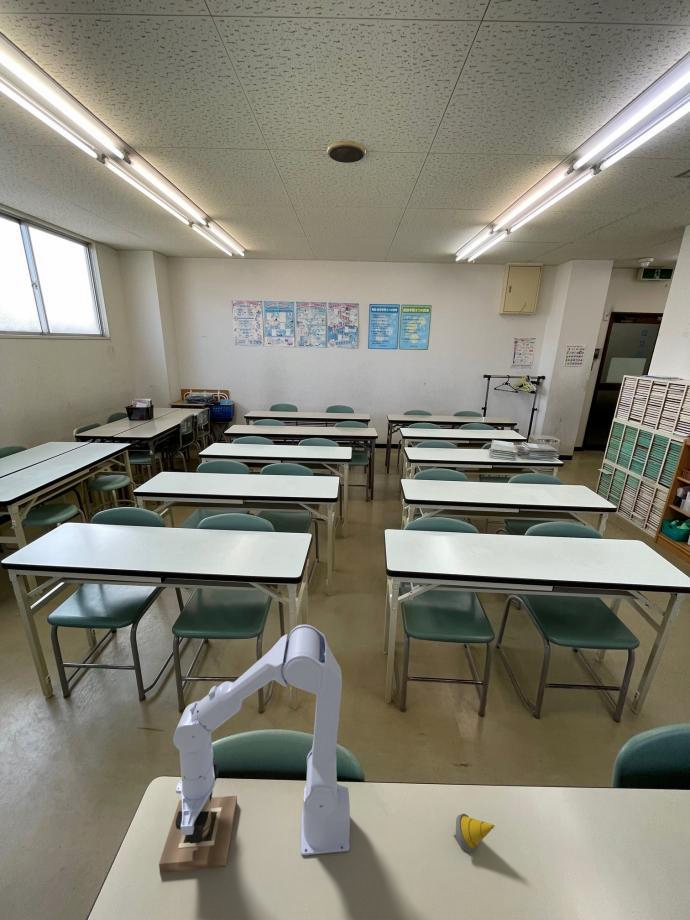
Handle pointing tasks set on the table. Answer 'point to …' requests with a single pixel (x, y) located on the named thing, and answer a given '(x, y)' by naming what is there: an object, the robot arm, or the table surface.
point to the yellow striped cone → (470, 832)
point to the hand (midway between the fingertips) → (200, 821)
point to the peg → (207, 826)
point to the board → (203, 853)
